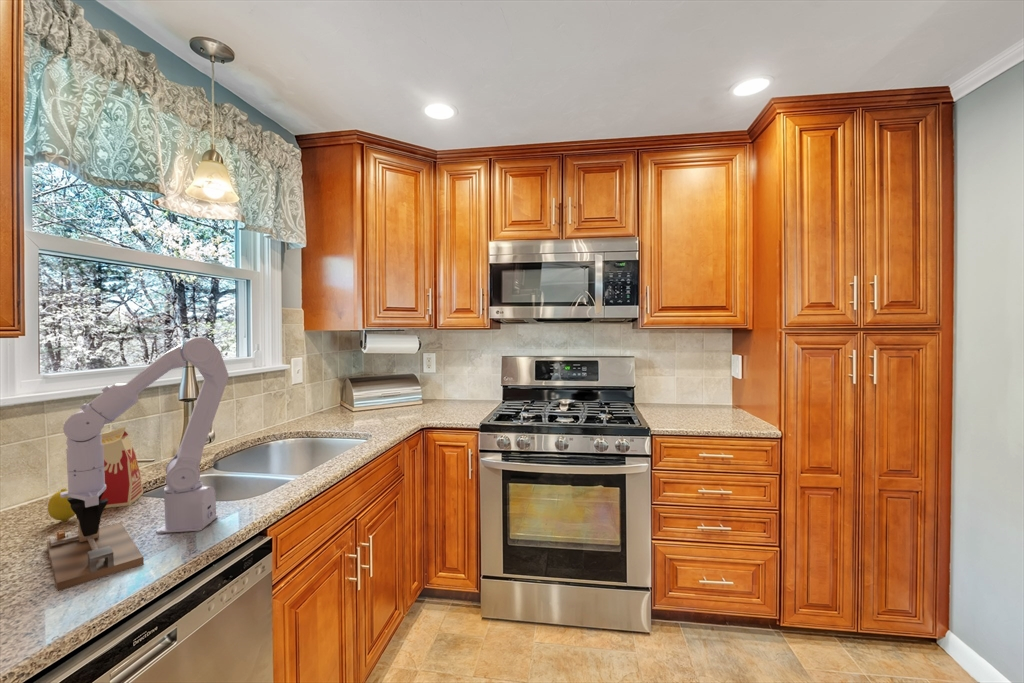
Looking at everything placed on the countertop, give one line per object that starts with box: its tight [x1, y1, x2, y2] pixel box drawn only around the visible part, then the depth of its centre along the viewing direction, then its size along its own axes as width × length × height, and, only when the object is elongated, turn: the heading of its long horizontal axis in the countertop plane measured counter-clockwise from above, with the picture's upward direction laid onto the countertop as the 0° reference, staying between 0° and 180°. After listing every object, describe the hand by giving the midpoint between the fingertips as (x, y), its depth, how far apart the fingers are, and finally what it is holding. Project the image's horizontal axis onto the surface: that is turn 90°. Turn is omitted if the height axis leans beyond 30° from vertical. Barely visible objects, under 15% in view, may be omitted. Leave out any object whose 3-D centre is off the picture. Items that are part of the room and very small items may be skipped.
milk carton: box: [100, 426, 144, 509], centre depth 122 cm, size 9×9×20 cm
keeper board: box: [46, 522, 145, 592], centre depth 93 cm, size 24×12×4 cm, turn 48°
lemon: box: [47, 488, 76, 523], centre depth 110 cm, size 6×6×8 cm
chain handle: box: [49, 520, 99, 550], centre depth 93 cm, size 18×7×5 cm, turn 48°
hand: (88, 531), depth 97 cm, fingers open, 4 cm apart
